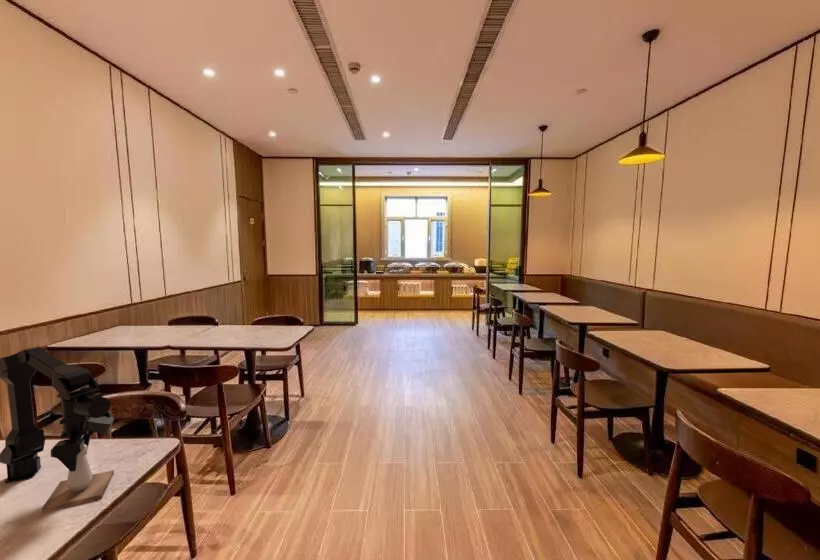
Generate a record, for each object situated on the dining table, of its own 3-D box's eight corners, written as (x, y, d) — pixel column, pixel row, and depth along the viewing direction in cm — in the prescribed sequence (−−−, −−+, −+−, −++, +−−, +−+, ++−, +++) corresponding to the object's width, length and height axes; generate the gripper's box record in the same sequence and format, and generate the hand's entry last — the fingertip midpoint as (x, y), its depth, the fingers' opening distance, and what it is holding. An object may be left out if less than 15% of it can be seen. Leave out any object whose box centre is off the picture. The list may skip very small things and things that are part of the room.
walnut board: (42, 512, 101) (41, 508, 100) (60, 484, 112) (60, 481, 112) (101, 498, 106) (101, 494, 106) (113, 473, 118) (113, 470, 118)
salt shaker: (77, 495, 106) (74, 453, 105) (61, 492, 107) (58, 450, 106) (98, 482, 111) (95, 442, 110) (83, 480, 113) (80, 440, 111)
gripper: (100, 420, 102) (103, 472, 104) (118, 396, 119) (120, 441, 120) (47, 428, 97) (51, 483, 99) (73, 402, 114) (76, 449, 115)
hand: (78, 462), depth 108 cm, fingers open, 9 cm apart
